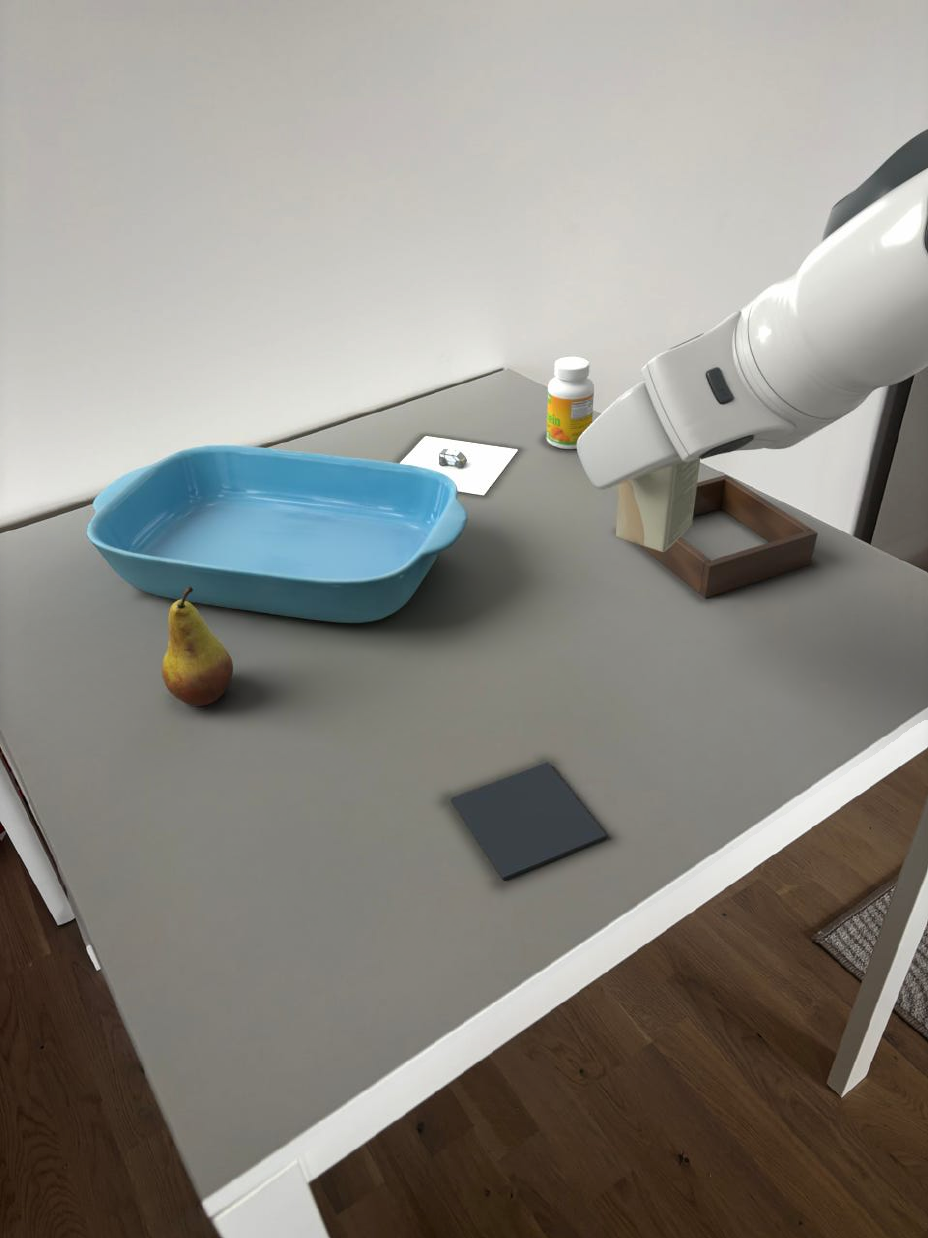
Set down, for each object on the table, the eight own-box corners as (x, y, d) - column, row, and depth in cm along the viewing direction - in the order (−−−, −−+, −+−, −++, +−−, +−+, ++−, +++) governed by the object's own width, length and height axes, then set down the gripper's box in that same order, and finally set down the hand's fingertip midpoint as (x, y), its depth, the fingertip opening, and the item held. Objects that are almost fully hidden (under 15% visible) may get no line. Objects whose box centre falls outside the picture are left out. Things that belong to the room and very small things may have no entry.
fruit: (244, 672, 82) (220, 551, 75) (230, 717, 77) (203, 593, 70) (178, 673, 82) (148, 552, 75) (161, 718, 77) (127, 594, 70)
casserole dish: (56, 600, 91) (35, 535, 87) (177, 491, 109) (164, 432, 104) (427, 663, 82) (423, 593, 78) (495, 532, 100) (495, 470, 96)
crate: (811, 564, 94) (818, 532, 92) (705, 598, 89) (709, 566, 87) (721, 503, 104) (726, 474, 102) (622, 532, 99) (625, 501, 97)
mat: (606, 838, 66) (606, 835, 66) (503, 880, 64) (503, 878, 63) (547, 764, 72) (548, 761, 72) (450, 801, 69) (450, 798, 69)
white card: (483, 495, 106) (483, 483, 105) (384, 479, 110) (383, 467, 109) (518, 449, 115) (518, 437, 114) (425, 436, 119) (424, 424, 118)
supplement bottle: (538, 436, 118) (540, 358, 113) (577, 427, 120) (581, 351, 114) (559, 453, 114) (562, 374, 109) (599, 444, 116) (604, 366, 110)
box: (644, 510, 78) (657, 379, 72) (693, 525, 76) (712, 391, 70) (612, 538, 75) (623, 402, 68) (663, 555, 73) (679, 416, 66)
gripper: (866, 295, 65) (736, 389, 77) (631, 362, 56) (528, 456, 68) (907, 380, 64) (770, 460, 76) (676, 461, 55) (564, 537, 68)
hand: (654, 459), depth 72 cm, fingers closed on box, 6 cm apart
